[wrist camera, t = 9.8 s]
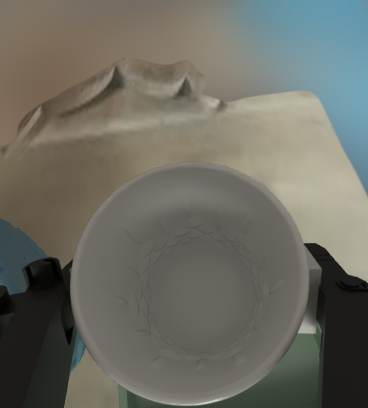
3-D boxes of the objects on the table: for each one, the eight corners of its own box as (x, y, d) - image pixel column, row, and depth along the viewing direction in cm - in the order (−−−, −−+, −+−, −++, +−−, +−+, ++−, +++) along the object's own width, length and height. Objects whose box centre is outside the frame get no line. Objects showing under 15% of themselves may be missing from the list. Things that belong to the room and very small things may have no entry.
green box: (134, 448, 26) (122, 463, 22) (121, 247, 36) (111, 239, 33) (346, 406, 25) (364, 416, 22) (270, 213, 35) (274, 201, 32)
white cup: (290, 300, 16) (366, 260, 8) (202, 398, 15) (168, 494, 6) (205, 222, 20) (189, 130, 11) (126, 294, 18) (32, 254, 9)
